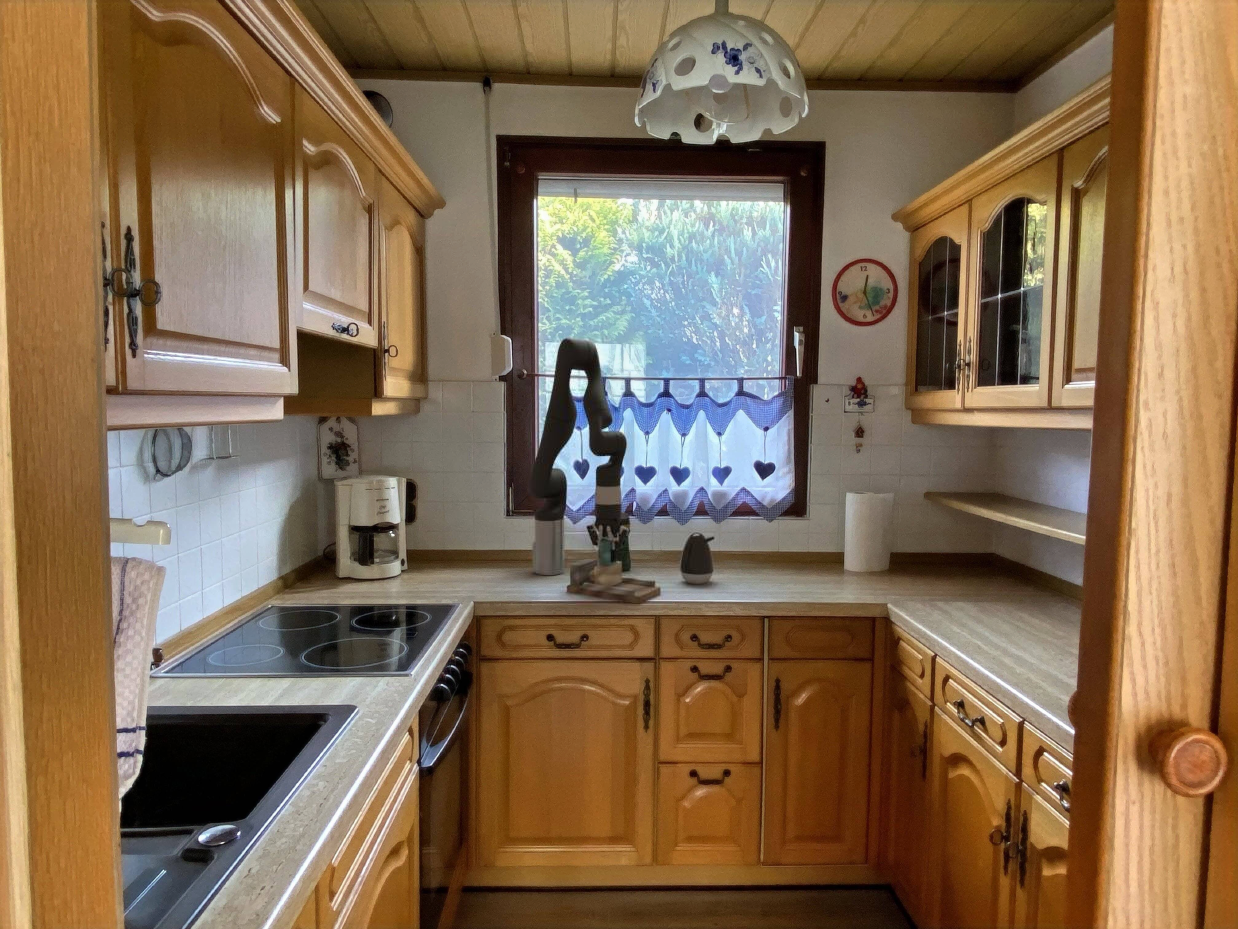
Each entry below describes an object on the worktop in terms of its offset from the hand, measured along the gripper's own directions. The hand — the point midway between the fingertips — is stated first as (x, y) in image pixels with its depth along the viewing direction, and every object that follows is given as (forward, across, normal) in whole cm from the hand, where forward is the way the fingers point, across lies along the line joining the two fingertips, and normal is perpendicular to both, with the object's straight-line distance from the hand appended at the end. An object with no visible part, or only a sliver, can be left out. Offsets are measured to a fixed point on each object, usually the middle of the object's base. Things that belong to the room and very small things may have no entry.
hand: (608, 561), depth 221 cm
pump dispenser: (+9, +17, +24) cm, 31 cm away
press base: (+9, +2, 0) cm, 9 cm away
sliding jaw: (+7, 0, 0) cm, 7 cm away
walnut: (+7, -4, 0) cm, 8 cm away
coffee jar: (+9, -13, +26) cm, 31 cm away
